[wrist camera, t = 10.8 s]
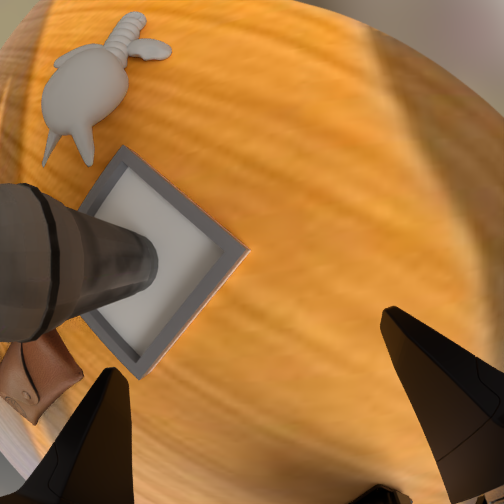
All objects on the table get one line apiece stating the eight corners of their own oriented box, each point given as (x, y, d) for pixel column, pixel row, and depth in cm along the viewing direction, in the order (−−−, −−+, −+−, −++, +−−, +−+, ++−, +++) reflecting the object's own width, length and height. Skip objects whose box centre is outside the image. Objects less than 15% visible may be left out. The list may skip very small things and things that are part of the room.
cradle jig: (150, 372, 21) (139, 380, 19) (60, 268, 23) (46, 268, 21) (251, 250, 20) (246, 249, 18) (135, 152, 22) (123, 144, 20)
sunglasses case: (35, 430, 24) (-7, 423, 19) (27, 387, 28) (-11, 376, 23) (88, 375, 22) (27, 360, 17) (76, 319, 27) (25, 299, 21)
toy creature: (188, -9, 19) (121, 149, 16) (185, 39, 26) (139, 191, 23) (78, -2, 17) (-17, 149, 13) (89, 40, 24) (22, 183, 20)
